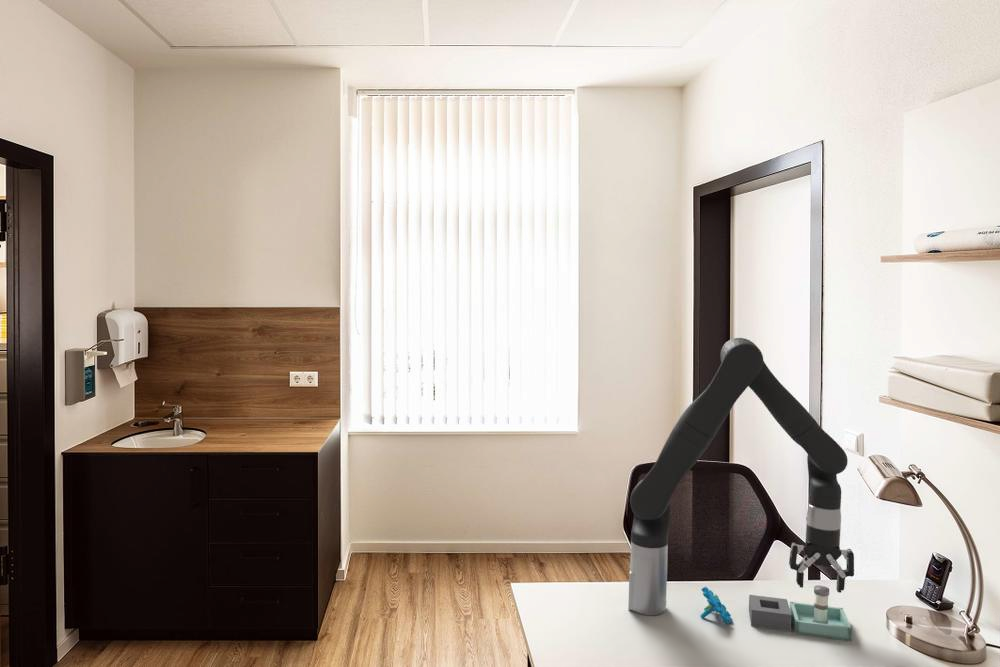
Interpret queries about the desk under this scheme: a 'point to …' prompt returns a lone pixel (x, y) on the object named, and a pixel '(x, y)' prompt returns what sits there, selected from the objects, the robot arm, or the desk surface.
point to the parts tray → (805, 625)
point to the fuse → (821, 604)
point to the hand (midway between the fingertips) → (819, 588)
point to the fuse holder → (769, 612)
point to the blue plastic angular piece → (715, 605)
